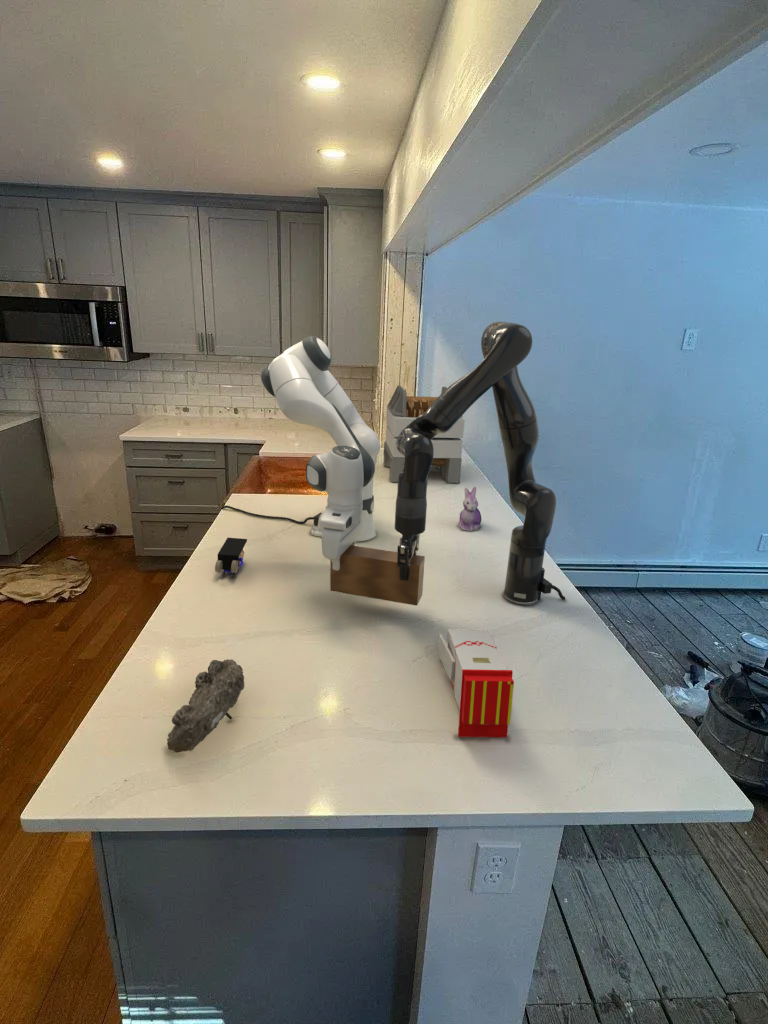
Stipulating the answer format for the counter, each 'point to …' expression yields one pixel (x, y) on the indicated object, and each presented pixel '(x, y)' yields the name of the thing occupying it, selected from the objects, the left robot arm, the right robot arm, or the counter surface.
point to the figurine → (470, 512)
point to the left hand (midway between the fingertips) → (343, 561)
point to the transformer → (444, 444)
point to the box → (377, 575)
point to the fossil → (206, 705)
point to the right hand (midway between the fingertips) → (407, 574)
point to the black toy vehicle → (230, 556)
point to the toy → (478, 682)
